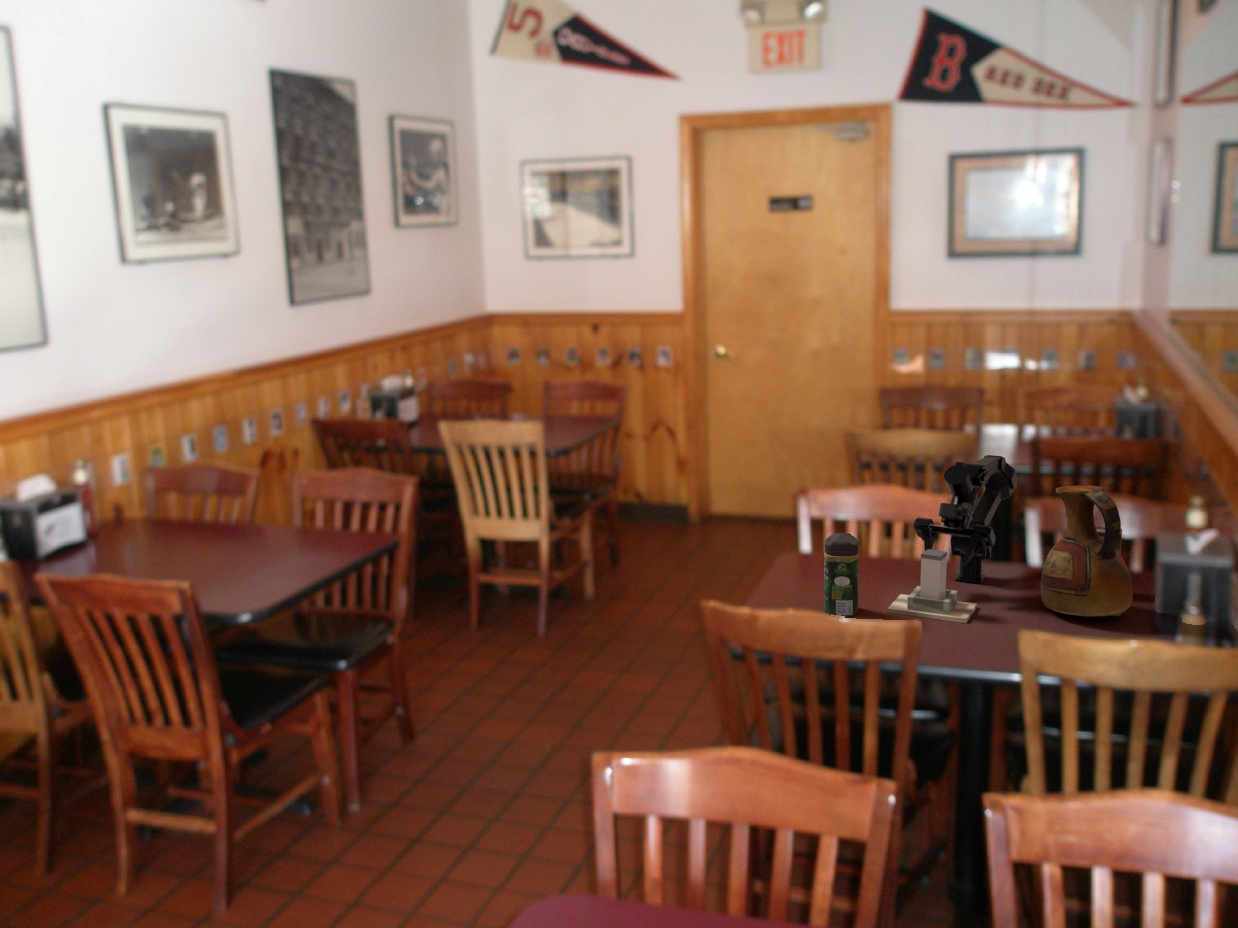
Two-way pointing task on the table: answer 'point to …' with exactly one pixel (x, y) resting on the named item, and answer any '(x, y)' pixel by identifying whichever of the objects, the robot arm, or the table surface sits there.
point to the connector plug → (933, 574)
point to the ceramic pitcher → (1087, 559)
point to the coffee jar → (841, 575)
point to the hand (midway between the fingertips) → (945, 561)
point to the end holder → (933, 607)
